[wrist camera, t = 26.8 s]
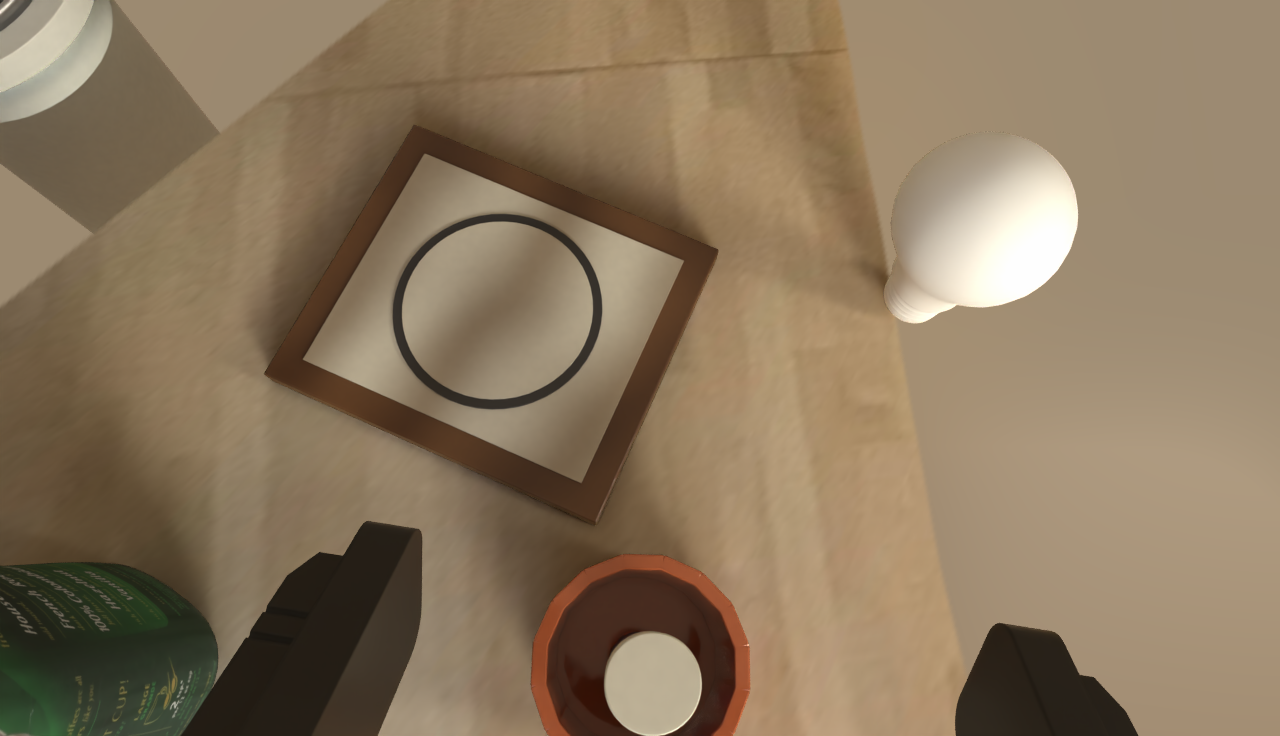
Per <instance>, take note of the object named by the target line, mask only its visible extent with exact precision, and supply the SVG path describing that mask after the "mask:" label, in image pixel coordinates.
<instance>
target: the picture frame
mask: <svg viewBox="0 0 1280 736" xmlns="http://www.w3.org/2000/svg"><path fill="white" fill-rule="evenodd" d="M717 255H718V249H716V248H713V247H711V246H709V245H706V244H704V243H701V242H699V241H696V240H694V239H692V238H689V237H687V236H684V235H682V234H679V233H677V232H674V231H672V230H670V229H667V228H665V227H662V226H660V225H657V224H655V223H653V222H650V221H648V220H645V219H643V218H640V217H638V216H636V215H633V214H631V213H628V212H626V211H623V210H621V209H619V208H616V207H614V206H611V205H609V204H606V203H604V202H602V201H599V200H597V199H594V198H592V197H589V196H587V195H585V194H582V193H580V192H577V191H575V190H572V189H570V188H567V187H565V186H563V185H560V184H558V183H555V182H553V181H550V180H548V179H546V178H543V177H541V176H538V175H536V174H533V173H531V172H529V171H526V170H524V169H521V168H519V167H516V166H514V165H512V164H509V163H507V162H504V161H502V160H499V159H497V158H495V157H492V156H490V155H487V154H485V153H482V152H480V151H478V150H475V149H473V148H470V147H468V146H465V145H463V144H460V143H458V142H456V141H453V140H451V139H448V138H446V137H443V136H441V135H439V134H436V133H434V132H431V131H429V130H426V129H424V128H422V127H419V126H417V125H414V126H413V128H412V129H411V131H410V132H409V134H408V136H407V137H406V139H405V141H404V142H403V144H402V146H401V147H400V149H399V151H398V152H397V154H396V156H395V157H394V159H393V161H392V162H391V164H390V166H389V167H388V169H387V171H386V172H385V174H384V176H383V177H382V179H381V181H380V182H379V184H378V186H377V187H376V189H375V191H374V192H373V194H372V196H371V197H370V199H369V201H368V202H367V204H366V205H365V207H364V209H363V210H362V212H361V214H360V215H359V217H358V219H357V220H356V222H355V224H354V225H353V227H352V229H351V230H350V232H349V234H348V235H347V237H346V239H345V240H344V242H343V244H342V245H341V247H340V249H339V250H338V252H337V254H336V255H335V257H334V259H333V260H332V262H331V264H330V265H329V267H328V269H327V270H326V272H325V274H324V275H323V277H322V278H321V280H320V282H319V283H318V285H317V287H316V288H315V290H314V292H313V293H312V295H311V297H310V298H309V300H308V302H307V303H306V305H305V307H304V308H303V310H302V312H301V313H300V315H299V317H298V318H297V320H296V322H295V323H294V325H293V327H292V328H291V330H290V332H289V333H288V335H287V337H286V338H285V340H284V342H283V343H282V345H281V347H280V348H279V350H278V351H277V353H276V355H275V356H274V358H273V360H272V361H271V363H270V365H269V366H268V368H267V370H266V371H265V375H266V376H267V377H268V378H270V379H271V380H272V381H274V382H276V383H279V384H281V385H283V386H285V387H288V388H290V389H292V390H294V391H297V392H299V393H301V394H303V395H305V396H308V397H310V398H312V399H314V400H317V401H319V402H321V403H323V404H325V405H328V406H330V407H332V408H334V409H337V410H339V411H341V412H343V413H346V414H348V415H350V416H352V417H354V418H357V419H359V420H361V421H363V422H366V423H368V424H370V425H372V426H374V427H377V428H379V429H381V430H383V431H386V432H388V433H390V434H392V435H395V436H397V437H399V438H401V439H403V440H406V441H408V442H410V443H412V444H415V445H417V446H419V447H421V448H423V449H426V450H428V451H430V452H432V453H435V454H437V455H439V456H441V457H444V458H446V459H448V460H450V461H452V462H455V463H457V464H459V465H461V466H464V467H466V468H468V469H470V470H472V471H475V472H477V473H479V474H481V475H484V476H486V477H488V478H490V479H493V480H495V481H497V482H499V483H501V484H504V485H506V486H508V487H510V488H513V489H515V490H517V491H519V492H521V493H524V494H526V495H528V496H530V497H533V498H535V499H537V500H539V501H542V502H544V503H546V504H548V505H550V506H553V507H555V508H557V509H559V510H562V511H564V512H566V513H568V514H570V515H573V516H575V517H577V518H579V519H582V520H584V521H586V522H588V523H591V524H593V525H597V524H598V522H599V520H600V517H601V515H602V513H603V511H604V508H605V506H606V504H607V502H608V499H609V497H610V495H611V493H612V491H613V488H614V486H615V484H616V482H617V479H618V477H619V475H620V473H621V471H622V468H623V466H624V464H625V462H626V459H627V457H628V455H629V453H630V450H631V448H632V446H633V444H634V442H635V439H636V437H637V435H638V433H639V430H640V428H641V426H642V424H643V422H644V419H645V417H646V415H647V413H648V410H649V408H650V406H651V404H652V401H653V399H654V397H655V395H656V393H657V390H658V388H659V386H660V384H661V381H662V379H663V377H664V375H665V372H666V370H667V368H668V366H669V364H670V361H671V359H672V357H673V355H674V352H675V350H676V348H677V346H678V344H679V341H680V339H681V337H682V335H683V332H684V330H685V328H686V326H687V323H688V321H689V319H690V317H691V315H692V312H693V310H694V308H695V306H696V303H697V301H698V299H699V297H700V295H701V292H702V290H703V288H704V286H705V283H706V281H707V279H708V277H709V274H710V272H711V270H712V268H713V266H714V263H715V261H716V259H717Z"/></svg>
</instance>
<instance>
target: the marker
mask: <svg viewBox="0 0 1280 736" xmlns="http://www.w3.org/2000/svg"><path fill="white" fill-rule="evenodd" d="M701 690H702V679H701V672H700V668H699V665H698V663H697V661H696V658H695V657H694V655H693V654H692V652H691V651H690V650H689V648H688V647H687V646H686V645H685V644H684V643H683V642H681V641H680V640H678V639H677V638H675V637H673V636H671V635H668V634H665V633H661V632H655V631H644V632H631V633H628V634H626V635H624V636H622V637H621V638H620V639H619V640H618V641H617V642H616V643H615V644H614V646H613V648H612V650H611V653H610V657H609V659H608V662H607V665H606V669H605V676H604V691H605V697H606V700H607V703H608V706H609V708H610V710H611V712H612V713H613V715H614V716H615V718H616V719H617V720H618V721H619V722H620V723H621V724H622V725H623V726H625V727H626V728H627V729H629V730H631V731H633V732H635V733H637V734H641V735H645V736H661V735H666V734H668V733H671V732H673V731H675V730H677V729H679V728H680V727H681V726H683V725H684V724H685V723H686V722H687V721H688V720H689V719H690V717H691V716H692V715H693V713H694V711H695V710H696V708H697V705H698V703H699V700H700V696H701Z"/></svg>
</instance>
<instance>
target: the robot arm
mask: <svg viewBox="0 0 1280 736" xmlns="http://www.w3.org/2000/svg"><path fill="white" fill-rule="evenodd" d="M32 1H33V0H0V31H2V30H3V29H5V28H6V27H7V26H9V25H10V24H11V23H12V22H14V21H15V20H16V19H17V18H18V17H19V16H20V15H21V14H22V13H23V12H24V11H25V10H26V8H27V7H28V6H29V5H30V3H31V2H32ZM421 601H422V534H421V531H420V530H419V529H415V528H409V527H402V526H396V525H390V524H383V523H377V522H371V521H366V522H365V523H363V525H362V526H361V527H360V529H359V530H358V532H357V534H356V535H355V537H354V539H353V540H352V542H351V544H350V545H349V547H348V549H347V550H346V552H345V554H344V555H343V556H340V555H334V554H327V553H321V552H319V553H318V554H316V555H315V556H313V557H312V558H311V559H309V560H308V561H307V562H305V563H304V564H303V565H301V566H300V567H298V568H297V569H296V570H294V571H293V572H292V573H290V574H289V575H287V577H286V578H285V580H284V581H283V583H282V584H281V586H280V587H279V589H278V590H277V592H276V593H275V595H274V596H273V598H272V599H271V601H270V602H269V604H268V605H267V609H266V612H263V613H262V614H261V616H260V617H259V619H258V620H257V622H256V623H255V625H254V626H253V628H252V629H251V631H250V636H249V638H245V640H244V641H243V643H242V644H241V646H240V647H239V649H238V650H237V652H236V653H235V655H234V656H233V658H232V659H231V661H230V662H229V664H228V665H227V667H226V668H225V670H224V671H223V673H222V674H221V676H220V677H219V679H218V680H217V682H216V683H215V685H214V687H213V688H212V690H211V691H210V693H209V694H208V696H207V697H206V699H205V700H204V702H203V703H202V705H201V706H200V708H199V709H198V711H197V712H196V714H195V715H194V717H193V718H192V720H191V721H190V723H189V724H188V726H187V727H186V729H185V730H184V732H183V733H182V734H181V736H378V733H379V731H380V728H381V726H382V724H383V721H384V719H385V717H386V714H387V712H388V709H389V707H390V705H391V702H392V700H393V698H394V695H395V693H396V690H397V688H398V686H399V683H400V681H401V679H402V676H403V674H404V671H405V669H406V667H407V664H408V662H409V660H410V657H411V654H412V652H413V649H414V646H415V642H416V638H417V634H418V630H419V625H420V618H421ZM955 731H956V736H1138V734H1137V732H1136V730H1135V728H1134V726H1133V724H1132V723H1131V721H1130V719H1129V717H1128V715H1127V713H1126V711H1125V710H1124V709H1123V708H1122V707H1121V706H1120V705H1119V704H1118V703H1117V702H1116V701H1115V699H1114V698H1113V697H1112V696H1111V695H1110V694H1109V693H1108V692H1107V691H1106V690H1105V689H1104V688H1103V687H1102V686H1101V684H1100V683H1099V682H1098V681H1097V680H1096V679H1095V678H1094V677H1089V676H1082V675H1079V673H1078V671H1077V669H1076V667H1075V665H1074V663H1073V661H1072V658H1071V656H1070V654H1069V652H1068V650H1067V648H1066V646H1065V644H1064V642H1063V640H1062V639H1061V637H1060V636H1059V635H1058V634H1056V633H1055V632H1052V631H1047V630H1040V629H1034V628H1028V627H1021V626H1015V625H1009V624H1003V623H997V624H995V625H994V626H993V627H992V628H991V629H990V631H989V633H988V635H987V637H986V639H985V641H984V644H983V646H982V648H981V650H980V653H979V655H978V657H977V659H976V661H975V663H974V666H973V668H972V670H971V672H970V674H969V677H968V679H967V681H966V683H965V685H964V688H963V690H962V692H961V694H960V697H959V700H958V703H957V708H956V716H955Z"/></svg>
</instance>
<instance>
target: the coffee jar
mask: <svg viewBox="0 0 1280 736" xmlns="http://www.w3.org/2000/svg"><path fill="white" fill-rule="evenodd" d="M217 668H218V648H217V642H216V639H215V635H214V633H213V631H212V629H211V627H210V625H209V623H208V622H207V621H206V619H205V618H204V617H203V616H202V614H201V613H200V612H199V611H198V610H197V609H196V608H195V607H194V606H193V605H192V604H191V603H189V602H188V601H187V600H186V599H184V598H183V597H181V596H180V595H179V594H178V593H176V592H175V591H174V590H173V589H171V588H170V587H169V586H167V585H165V584H164V583H162V582H161V581H159V580H157V579H156V578H154V577H152V576H150V575H148V574H146V573H144V572H142V571H139V570H137V569H135V568H131V567H128V566H125V565H119V564H110V563H93V562H71V563H46V564H29V565H12V566H0V736H181V734H182V733H183V732H184V730H185V729H186V727H187V726H188V724H189V723H190V721H191V720H192V718H193V717H194V715H195V714H196V712H197V711H198V709H199V708H200V706H201V705H202V703H203V702H204V700H205V699H206V697H207V696H208V694H209V693H210V691H211V689H212V686H213V684H214V681H215V677H216V673H217Z"/></svg>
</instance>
